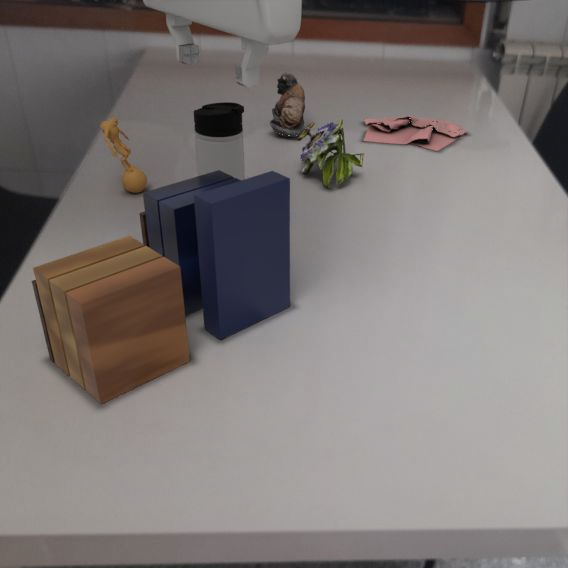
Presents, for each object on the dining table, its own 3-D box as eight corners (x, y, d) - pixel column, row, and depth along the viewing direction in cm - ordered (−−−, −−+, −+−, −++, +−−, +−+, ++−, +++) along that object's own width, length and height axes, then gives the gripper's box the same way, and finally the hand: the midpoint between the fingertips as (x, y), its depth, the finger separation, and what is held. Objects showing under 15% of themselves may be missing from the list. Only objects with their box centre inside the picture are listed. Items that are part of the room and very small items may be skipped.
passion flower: (307, 202, 129) (294, 136, 129) (366, 191, 130) (353, 125, 130) (305, 189, 118) (291, 117, 118) (370, 177, 119) (356, 105, 118)
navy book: (204, 329, 85) (193, 195, 75) (274, 297, 92) (272, 170, 82) (220, 340, 83) (211, 204, 74) (290, 307, 90) (290, 178, 80)
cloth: (479, 133, 149) (481, 121, 148) (418, 159, 135) (419, 146, 134) (401, 110, 159) (402, 99, 158) (336, 132, 145) (336, 120, 144)
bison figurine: (306, 142, 140) (307, 89, 134) (269, 141, 139) (269, 88, 133) (303, 122, 149) (304, 71, 144) (269, 121, 149) (269, 71, 143)
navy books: (149, 292, 91) (135, 188, 83) (218, 265, 98) (212, 166, 90) (184, 316, 87) (173, 209, 79) (254, 286, 94) (250, 184, 86)
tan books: (50, 360, 79) (27, 263, 72) (137, 323, 86) (123, 231, 79) (100, 404, 73) (81, 304, 66) (190, 361, 80) (180, 266, 73)
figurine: (142, 202, 113) (133, 127, 106) (104, 201, 113) (92, 125, 106) (153, 182, 120) (144, 109, 113) (116, 181, 120) (105, 108, 113)
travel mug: (236, 259, 100) (230, 114, 88) (194, 249, 101) (182, 106, 90) (256, 240, 104) (253, 101, 93) (216, 231, 106) (207, 93, 95)
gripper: (113, -102, 67) (130, 55, 75) (257, -75, 56) (259, 105, 64) (171, -102, 70) (180, 47, 78) (316, -77, 59) (310, 94, 67)
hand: (217, 74), depth 71 cm, fingers open, 8 cm apart
